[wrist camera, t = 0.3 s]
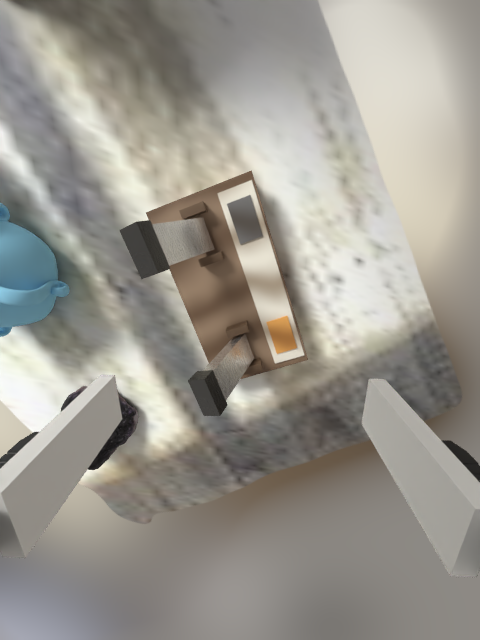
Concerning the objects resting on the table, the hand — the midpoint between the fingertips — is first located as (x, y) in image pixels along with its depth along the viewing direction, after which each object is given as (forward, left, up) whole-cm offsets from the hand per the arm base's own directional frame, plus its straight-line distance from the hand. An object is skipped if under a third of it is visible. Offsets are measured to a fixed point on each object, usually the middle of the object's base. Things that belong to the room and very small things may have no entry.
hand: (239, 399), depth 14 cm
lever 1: (-10, -3, -23) cm, 25 cm away
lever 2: (+6, -3, -23) cm, 24 cm away
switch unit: (-2, -2, -28) cm, 28 cm away
